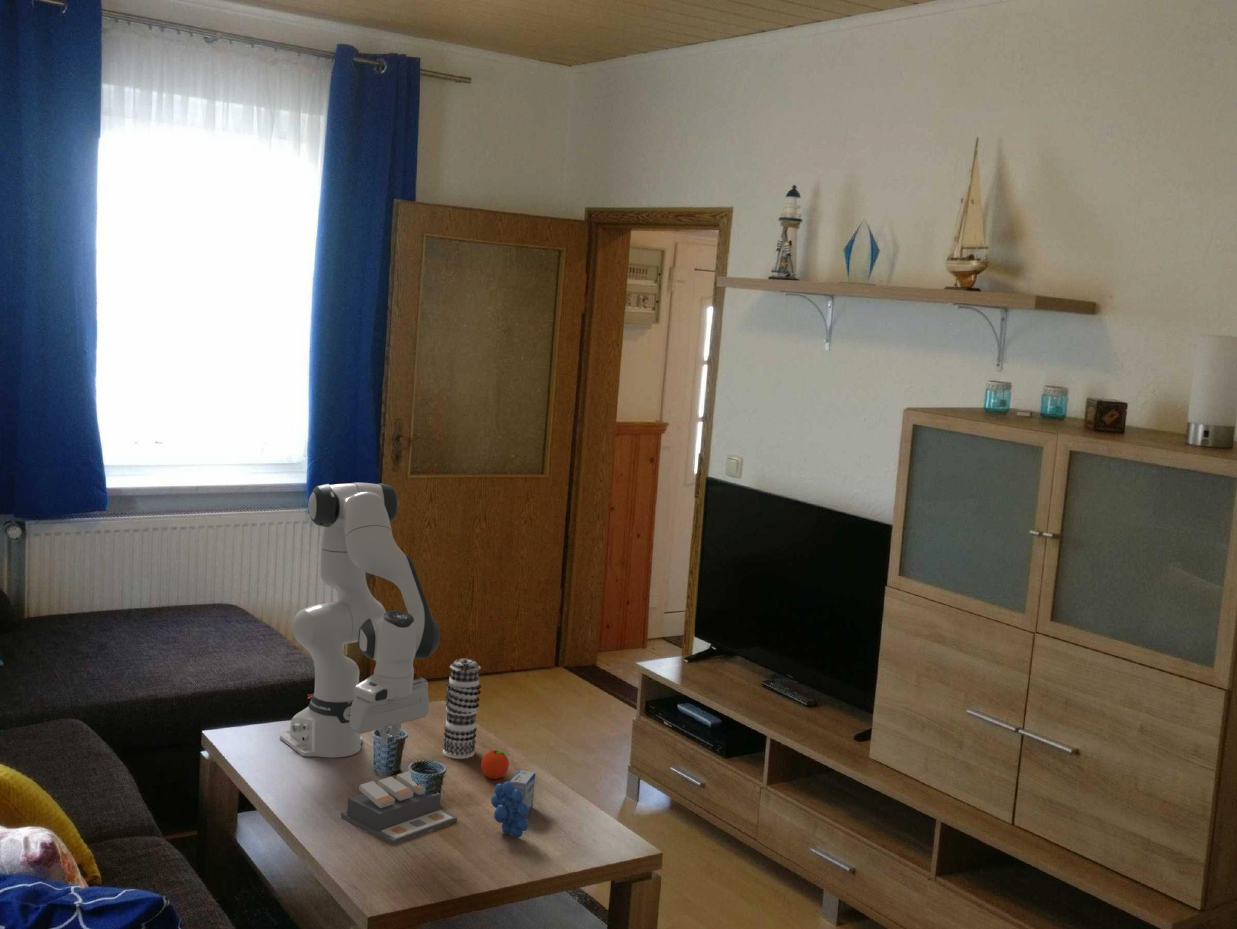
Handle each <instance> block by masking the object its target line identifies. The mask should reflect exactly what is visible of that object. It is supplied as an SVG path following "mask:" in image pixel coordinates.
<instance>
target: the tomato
mask: <svg viewBox="0 0 1237 929" xmlns="http://www.w3.org/2000/svg"><path fill="white" fill-rule="evenodd" d="M506 755H508V756H510V754H509V753H508V752H506V751H503V750H497V749H496V750H490V751H489V752H486V754H485V755H484V756H483V758H482V759H481V763H480V764H481V770H482V773H483V774H484V776H486V777H487V778H489V779H493V780H495V779H501V778H502V777H505V775H506V773H507V772H508V770H509V767H510V763H509V759H508V756H506ZM511 760H512V761H514V760H513V758H511Z"/></svg>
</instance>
